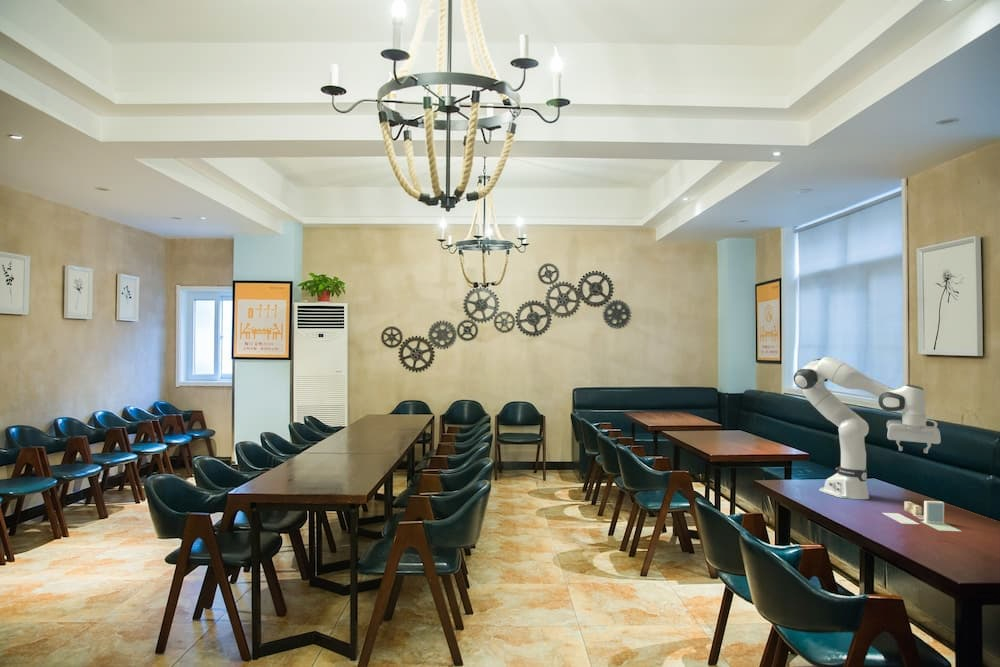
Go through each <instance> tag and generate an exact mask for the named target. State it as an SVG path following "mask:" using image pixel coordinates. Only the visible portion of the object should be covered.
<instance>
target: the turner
mask: <svg viewBox="0 0 1000 667" xmlns="http://www.w3.org/2000/svg"><path fill="white" fill-rule="evenodd" d="M903 504H904V506H903V507H904V508H903V511H905V512H907V513H909V514H911V515H912V516H913V517H915V518H917V519H919V520H924V514H922V511H923V508H922V506H921V505H919V504H916V503H914V502H911V501H904V503H903Z"/></svg>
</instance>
